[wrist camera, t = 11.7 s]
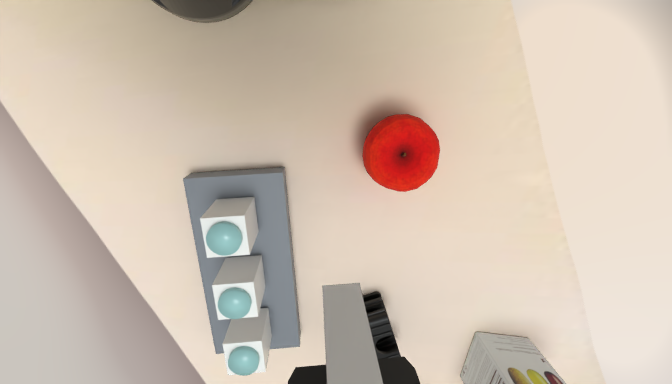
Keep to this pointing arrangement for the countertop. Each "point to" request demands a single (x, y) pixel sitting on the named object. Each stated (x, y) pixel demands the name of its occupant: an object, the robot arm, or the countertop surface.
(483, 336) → the supplement box
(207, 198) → the mount
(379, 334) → the end cap
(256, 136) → the countertop surface
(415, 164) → the apple
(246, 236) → the button near
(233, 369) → the button far
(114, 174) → the countertop surface
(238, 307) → the button mid
